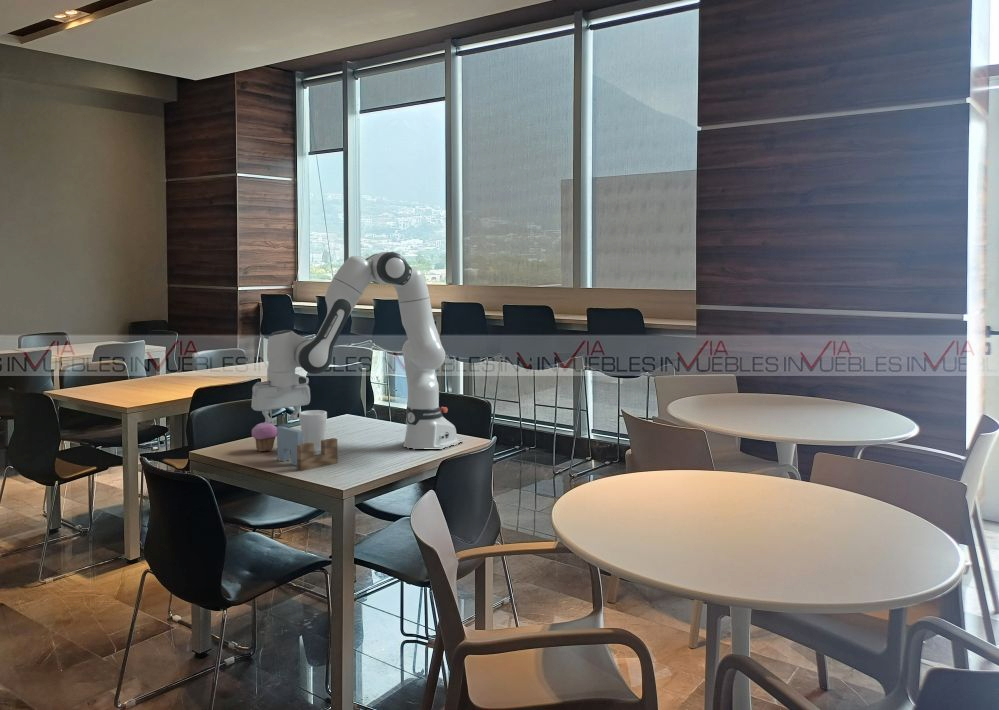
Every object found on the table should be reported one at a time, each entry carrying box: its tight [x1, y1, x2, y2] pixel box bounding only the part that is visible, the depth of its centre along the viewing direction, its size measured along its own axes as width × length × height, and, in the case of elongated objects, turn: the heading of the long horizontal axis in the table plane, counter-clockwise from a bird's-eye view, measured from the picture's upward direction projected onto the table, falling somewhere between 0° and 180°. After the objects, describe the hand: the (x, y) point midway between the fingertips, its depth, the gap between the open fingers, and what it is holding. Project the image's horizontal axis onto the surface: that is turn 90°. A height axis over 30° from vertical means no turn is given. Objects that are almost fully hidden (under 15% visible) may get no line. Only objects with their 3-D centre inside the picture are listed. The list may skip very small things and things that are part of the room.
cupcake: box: [251, 421, 278, 452], centre depth 271 cm, size 9×9×10 cm
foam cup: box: [298, 409, 328, 452], centre depth 274 cm, size 10×9×13 cm
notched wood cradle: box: [296, 437, 339, 472], centre depth 251 cm, size 14×2×8 cm, turn 138°
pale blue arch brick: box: [276, 425, 303, 466], centre depth 256 cm, size 12×2×11 cm, turn 48°
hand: (281, 421), depth 257 cm, fingers open, 8 cm apart
